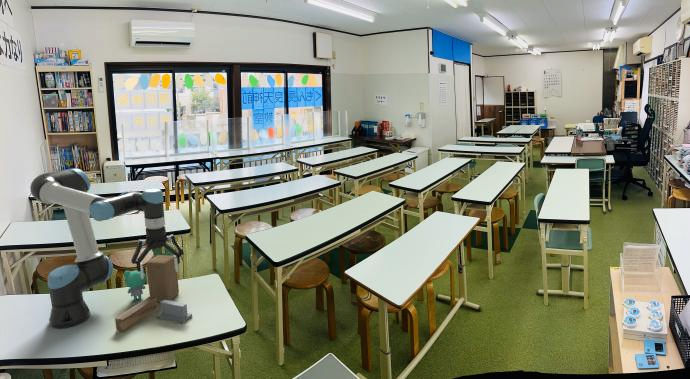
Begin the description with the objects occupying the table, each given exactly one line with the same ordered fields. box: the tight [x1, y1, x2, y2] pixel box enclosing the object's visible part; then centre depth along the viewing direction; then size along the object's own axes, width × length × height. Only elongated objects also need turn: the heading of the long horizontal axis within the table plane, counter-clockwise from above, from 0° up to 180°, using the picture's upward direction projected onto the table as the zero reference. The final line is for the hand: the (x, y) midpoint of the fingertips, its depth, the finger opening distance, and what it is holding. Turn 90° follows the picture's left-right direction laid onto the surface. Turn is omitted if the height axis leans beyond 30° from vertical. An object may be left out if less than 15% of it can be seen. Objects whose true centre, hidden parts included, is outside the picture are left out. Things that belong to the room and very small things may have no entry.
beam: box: [114, 296, 158, 333], centre depth 189 cm, size 4×20×6 cm, turn 163°
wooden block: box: [145, 254, 180, 302], centre depth 208 cm, size 10×10×20 cm
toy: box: [123, 268, 147, 301], centre depth 207 cm, size 9×8×15 cm
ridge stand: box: [156, 300, 193, 325], centre depth 191 cm, size 14×6×7 cm, turn 70°
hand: (159, 274), depth 182 cm, fingers open, 13 cm apart
